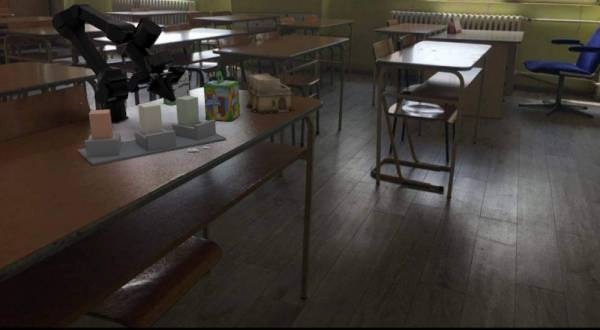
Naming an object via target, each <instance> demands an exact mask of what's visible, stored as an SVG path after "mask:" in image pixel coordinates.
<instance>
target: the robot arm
mask: <svg viewBox="0 0 600 330" xmlns="http://www.w3.org/2000/svg"><path fill="white" fill-rule="evenodd" d="M86 23H87V24H89V25H90V26H93V27H94V28H96V29H97V30H98V31H101V32H102V33H104V34H105V38H107V40H109V41H110V42H111V43H112V44H113V45H116V46H120V45H126V46H125V47H123V48H121V50H122V51H121V58H122V59H126V58H127V59H129V60H130V62H131V63H132V64H133V65H134V66H135V68H134V69H133V70H134V71H135V72H133V73H132V74H131V76H130V78H129V79H128V77H126V76H125V74H124V73H123V71H122V69H120V68H115V69H114V68H112V67H111V66H110V65H109V64H108V63H107V61H106V60H105V58H104V57H103V55H102V53H100V51H99V50H98V49H97V47H96V46H95V44H94V43H93V42H92V40H91V39H90V38H89V36H88V35H87V34H86ZM51 25H52V27H53V29H54V30H55V32H57V33H58V34H59V35H60V36H61V37H62V38H64V39H66V40H68V41H70V42H71V43H72V45H73V46H74V47H75V49H76V50H77V52H78V53H79V54H80V55H81V57H82V58H83V59H84V61H85V62H86V65H88V66H89V68H90V70H91V71H92V72H93V74H94V75H95V76H96V86H97V88H98V89H97V91H96V92H95V94H94V95H93V96H94V99H95V102H96V103H97V104H100V108H101V109H100V110H110V115H111V123H114V124H115V123H117V124H118V123H121V122H123V121H125V120H127V119H130V117H129V116H127V115H128V114H127V107H126V105H125V100H128V99H129V93H130V94H134V93H138V92H140V86H142V85H147V89H146V91H147V92H148V93H152V94H154V95H157V96H159V97H162V99H163V98H165V99H167V100H169V101H171V102H175V100H176V98H175V95H174V92H173V88H172V84H176V83H178V82H179V80H180V79H181V77H182V76H183V75H184V73H185V72H186V69H185V67H184V66H183V65H180V64H178V65H173V66H170V67H169V69H167V68H168V66H167V65H168V64H171V63H175V59H176V54H175V51H173V50H172V48H168V49H165V50H163V51H159V52H155V53H154V54H152V53H151V51H150V50H148V49H152V48H153V47H154V45H155V44H156V42H157V41H158V40H159V37H160V36H161V34H162V33H163V31H162V27H161V26H160V25H159V24H158V23H156V22H155V21H153V20H149V18H148V17H144V16H143V17H141V18H140V19H139V21H138V23H137V25H136V26H135V24H133V23H131V22H127V21H125V20H124V21H122V20H117V19H114V18H112V17H110V16H108V15H107V14H104V13H103V12H100V11H99V10H97V9H96V8H94V7H92V6H91V5H90V4H87V3H74V4H72V5H70V7H68V8H65V9H64V10H62V11H59V12H58V13H57V12H56V13H54V15H53V17H52V20H51ZM164 70H168V72H164ZM127 79H128V80H127Z"/></svg>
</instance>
